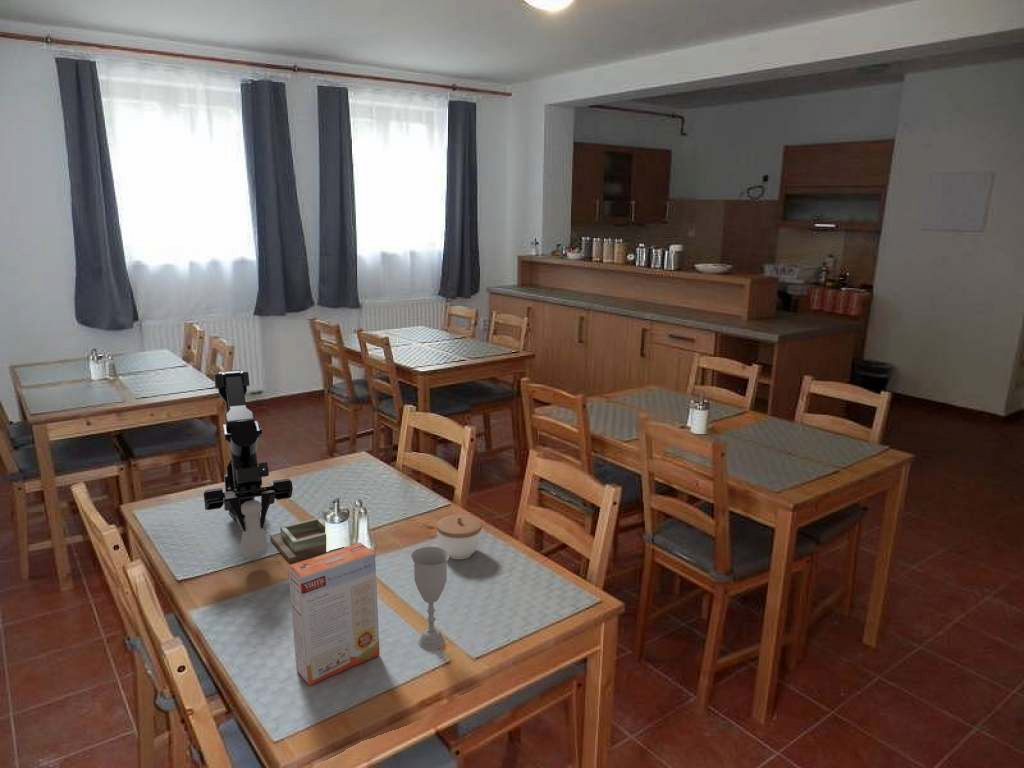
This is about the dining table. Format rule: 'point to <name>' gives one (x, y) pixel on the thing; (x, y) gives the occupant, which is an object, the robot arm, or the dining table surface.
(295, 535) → the stand
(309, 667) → the cracker box
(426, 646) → the chalice
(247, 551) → the salt shaker
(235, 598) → the dining table surface
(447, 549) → the lidded jar
